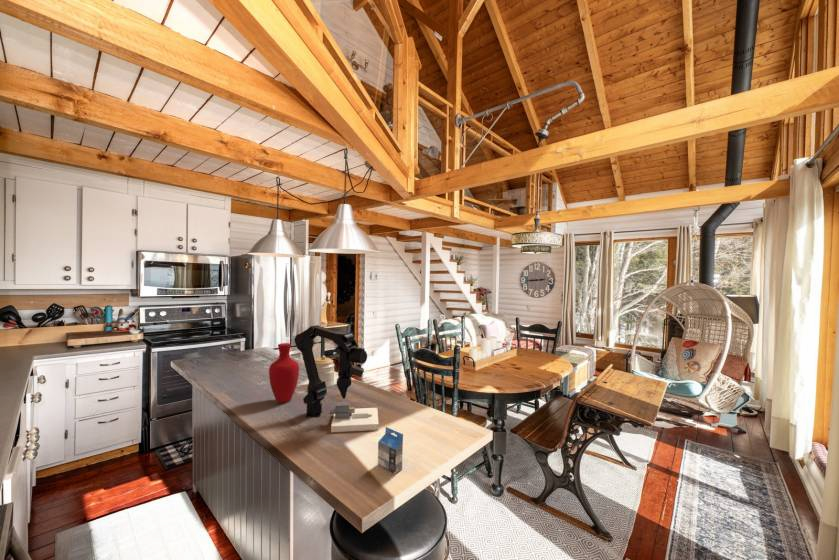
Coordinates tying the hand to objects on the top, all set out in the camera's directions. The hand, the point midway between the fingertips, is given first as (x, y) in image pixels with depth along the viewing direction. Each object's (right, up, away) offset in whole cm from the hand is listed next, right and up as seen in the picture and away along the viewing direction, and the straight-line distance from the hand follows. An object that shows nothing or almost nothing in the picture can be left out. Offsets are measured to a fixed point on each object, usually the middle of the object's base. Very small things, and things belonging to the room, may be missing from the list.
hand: (344, 394), depth 155 cm
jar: (-24, -11, +51) cm, 58 cm away
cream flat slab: (+5, -13, 0) cm, 14 cm away
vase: (-37, -12, +24) cm, 46 cm away
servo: (-1, -10, -1) cm, 10 cm away
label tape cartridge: (+24, -14, -35) cm, 45 cm away
